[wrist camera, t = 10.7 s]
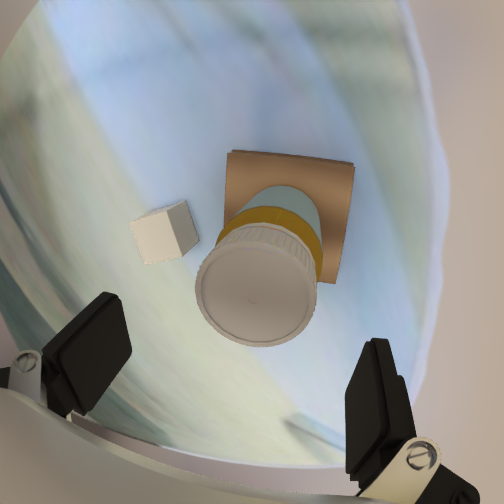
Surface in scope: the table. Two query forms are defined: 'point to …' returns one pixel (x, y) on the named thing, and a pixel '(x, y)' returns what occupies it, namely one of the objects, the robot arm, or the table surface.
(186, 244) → the stone cube
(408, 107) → the table surface
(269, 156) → the plinth
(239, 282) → the bottle
